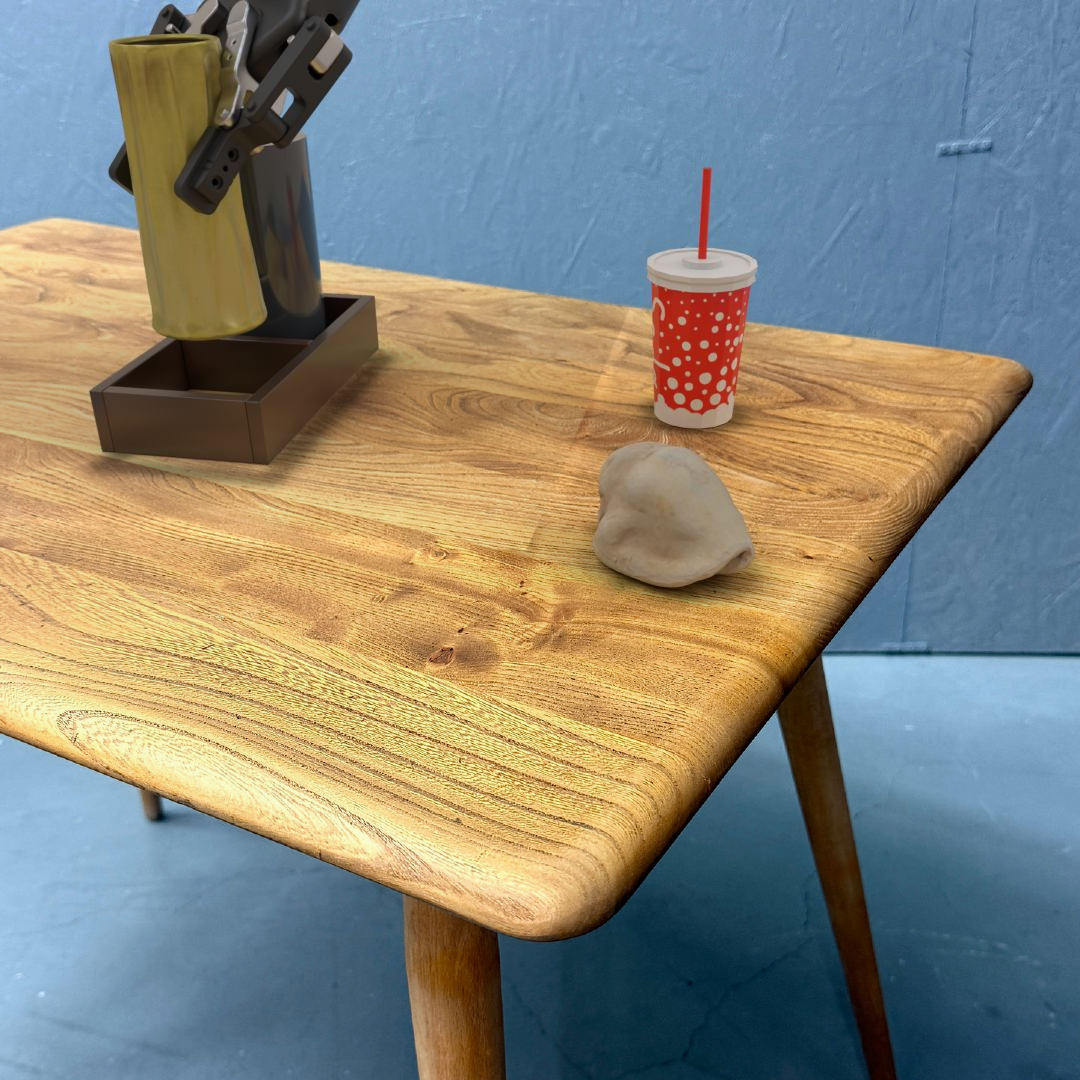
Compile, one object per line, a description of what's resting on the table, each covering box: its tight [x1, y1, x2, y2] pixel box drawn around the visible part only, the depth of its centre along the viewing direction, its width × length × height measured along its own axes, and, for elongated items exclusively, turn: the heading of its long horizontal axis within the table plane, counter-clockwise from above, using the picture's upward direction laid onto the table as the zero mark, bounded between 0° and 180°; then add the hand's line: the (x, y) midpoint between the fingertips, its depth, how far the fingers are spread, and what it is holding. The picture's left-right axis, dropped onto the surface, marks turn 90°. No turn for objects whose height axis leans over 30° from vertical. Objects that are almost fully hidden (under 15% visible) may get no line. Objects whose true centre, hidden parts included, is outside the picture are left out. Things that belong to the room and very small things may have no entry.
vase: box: [108, 34, 267, 341], centre depth 59 cm, size 6×6×14 cm
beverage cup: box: [646, 166, 758, 429], centre depth 65 cm, size 6×6×14 cm
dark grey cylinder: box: [238, 130, 327, 340], centre depth 70 cm, size 6×6×14 cm
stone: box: [592, 440, 756, 588], centre depth 53 cm, size 7×6×8 cm
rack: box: [88, 292, 380, 466], centre depth 69 cm, size 10×18×4 cm, turn 169°
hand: (157, 195), depth 58 cm, fingers closed on vase, 5 cm apart
